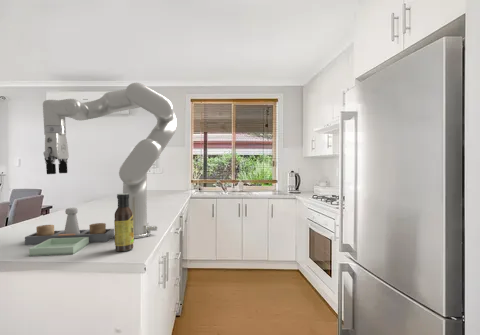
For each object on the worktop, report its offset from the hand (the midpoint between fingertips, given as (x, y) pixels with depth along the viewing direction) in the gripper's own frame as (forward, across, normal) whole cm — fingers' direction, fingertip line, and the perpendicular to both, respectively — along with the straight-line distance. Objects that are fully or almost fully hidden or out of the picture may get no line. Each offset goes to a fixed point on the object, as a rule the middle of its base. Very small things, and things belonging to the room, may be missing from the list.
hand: (57, 173), depth 124 cm
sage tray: (+27, -15, -7) cm, 32 cm away
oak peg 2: (+28, -1, -15) cm, 31 cm away
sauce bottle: (+28, -19, -30) cm, 45 cm away
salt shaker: (+27, -1, -5) cm, 28 cm away
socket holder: (+27, -1, -5) cm, 28 cm away
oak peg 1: (+27, -1, +5) cm, 27 cm away
